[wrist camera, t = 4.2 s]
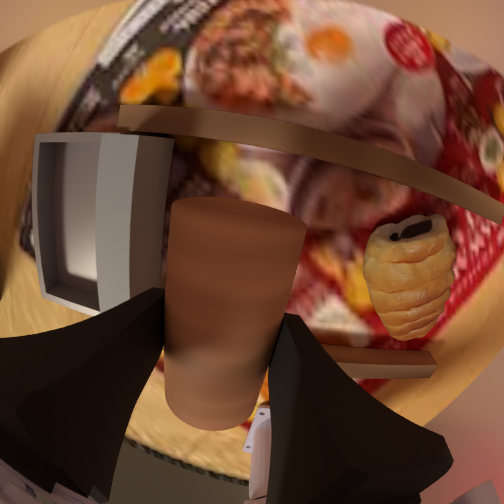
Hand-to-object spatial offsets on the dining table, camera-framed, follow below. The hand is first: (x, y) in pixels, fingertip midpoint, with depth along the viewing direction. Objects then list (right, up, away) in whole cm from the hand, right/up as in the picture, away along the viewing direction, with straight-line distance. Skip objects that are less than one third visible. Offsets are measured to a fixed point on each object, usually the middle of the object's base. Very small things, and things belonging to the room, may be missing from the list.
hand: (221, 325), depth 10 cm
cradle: (-10, +5, +7) cm, 14 cm away
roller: (0, +1, +2) cm, 2 cm away
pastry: (+12, +2, +8) cm, 15 cm away
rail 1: (+7, +8, +5) cm, 12 cm away
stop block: (-6, +4, +7) cm, 10 cm away
